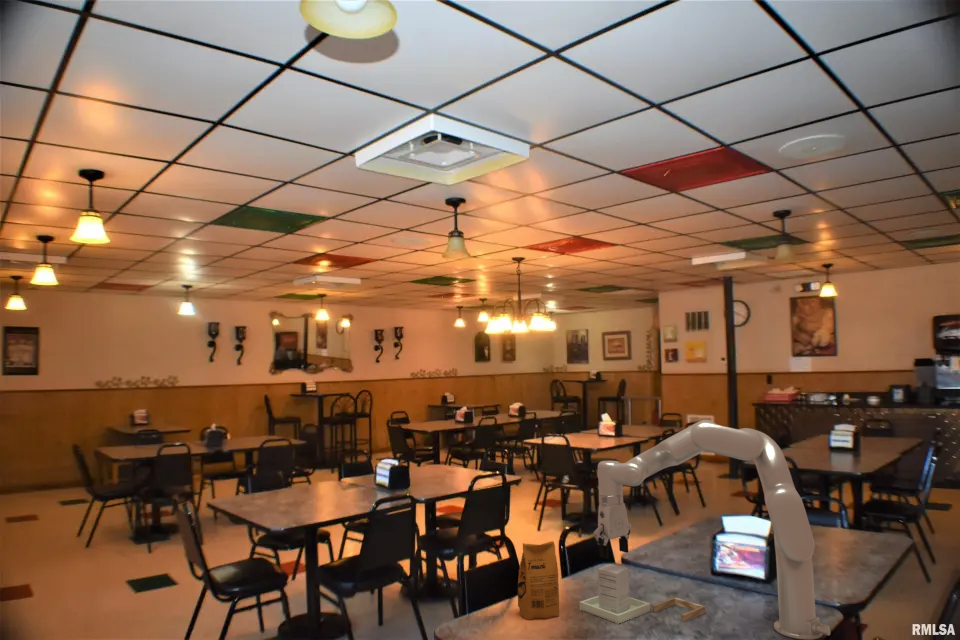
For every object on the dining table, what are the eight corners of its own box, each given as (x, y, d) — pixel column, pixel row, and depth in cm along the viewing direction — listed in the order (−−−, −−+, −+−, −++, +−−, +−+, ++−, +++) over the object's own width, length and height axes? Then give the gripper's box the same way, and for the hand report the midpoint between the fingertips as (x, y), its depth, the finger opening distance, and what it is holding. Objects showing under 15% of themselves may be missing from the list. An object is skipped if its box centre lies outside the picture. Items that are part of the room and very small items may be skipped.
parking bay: (705, 613, 199) (705, 606, 199) (684, 622, 192) (683, 615, 192) (674, 603, 208) (673, 596, 208) (652, 611, 201) (652, 605, 201)
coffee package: (515, 610, 204) (514, 539, 206) (552, 606, 207) (550, 537, 209) (523, 621, 195) (521, 548, 197) (562, 618, 197) (560, 545, 199)
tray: (650, 611, 201) (650, 603, 201) (618, 624, 191) (618, 615, 191) (611, 598, 213) (611, 591, 213) (579, 610, 203) (579, 601, 204)
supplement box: (610, 603, 207) (608, 563, 209) (630, 608, 202) (629, 567, 204) (598, 609, 202) (596, 568, 203) (618, 615, 197) (617, 573, 198)
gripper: (602, 505, 197) (605, 562, 195) (637, 497, 208) (640, 551, 206) (584, 502, 203) (587, 557, 201) (619, 494, 213) (622, 547, 212)
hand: (614, 554), depth 204 cm, fingers open, 9 cm apart
